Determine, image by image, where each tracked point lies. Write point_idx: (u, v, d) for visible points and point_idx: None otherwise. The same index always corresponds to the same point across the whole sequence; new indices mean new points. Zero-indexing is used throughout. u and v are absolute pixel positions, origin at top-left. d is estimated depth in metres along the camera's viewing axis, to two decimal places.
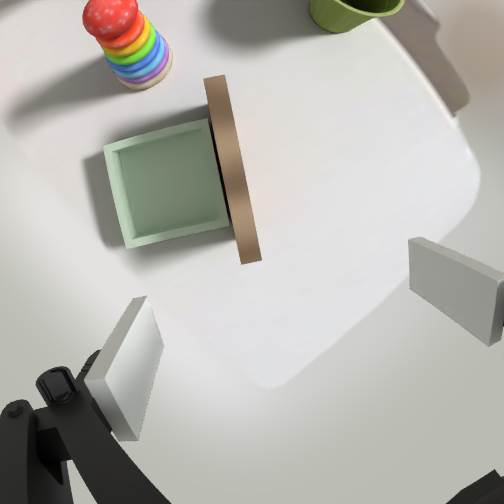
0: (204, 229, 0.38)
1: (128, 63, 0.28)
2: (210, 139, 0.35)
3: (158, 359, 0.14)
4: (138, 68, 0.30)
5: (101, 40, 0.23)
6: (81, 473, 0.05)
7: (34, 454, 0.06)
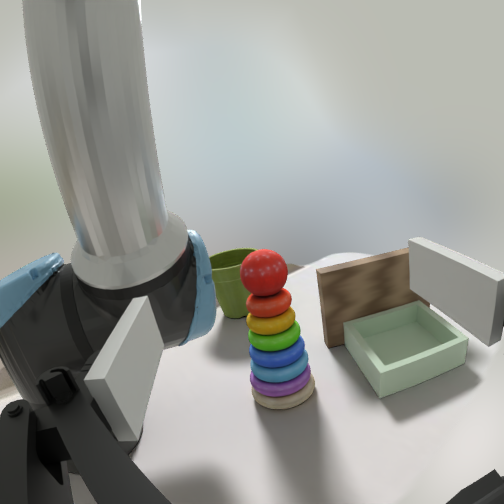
0: (427, 308, 0.42)
1: (299, 327, 0.36)
2: (360, 318, 0.44)
3: (158, 359, 0.14)
4: (302, 338, 0.37)
5: (282, 298, 0.34)
6: (81, 473, 0.05)
7: (34, 454, 0.06)
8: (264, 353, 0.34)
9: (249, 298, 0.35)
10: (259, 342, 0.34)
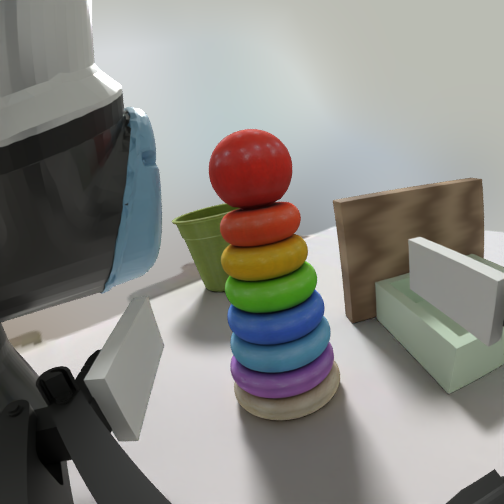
0: (487, 261, 0.27)
1: (315, 273, 0.21)
2: (398, 276, 0.29)
3: (158, 359, 0.14)
4: None
5: (284, 209, 0.18)
6: (81, 473, 0.05)
7: (34, 454, 0.06)
8: (252, 317, 0.19)
9: (225, 215, 0.20)
10: (243, 295, 0.19)
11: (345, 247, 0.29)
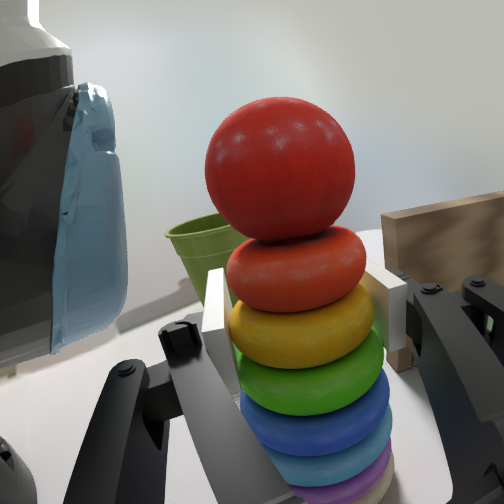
0: None
1: None
2: None
3: None
4: None
5: (345, 245, 0.10)
6: (188, 422, 0.06)
7: (139, 417, 0.07)
8: (283, 421, 0.10)
9: (236, 252, 0.11)
10: (269, 392, 0.10)
11: None
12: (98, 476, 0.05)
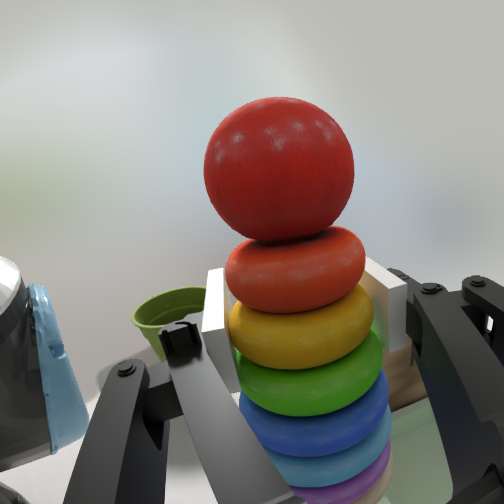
0: None
1: None
2: None
3: None
4: None
5: (344, 245, 0.10)
6: (188, 422, 0.06)
7: (139, 417, 0.07)
8: (282, 422, 0.10)
9: (235, 253, 0.11)
10: (268, 392, 0.10)
11: None
12: (98, 476, 0.05)
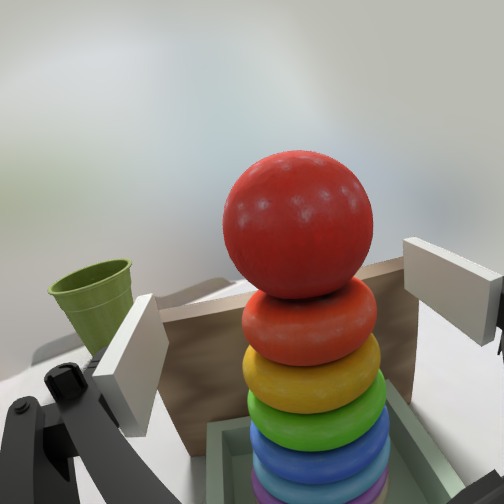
0: (403, 404, 0.17)
1: None
2: (244, 418, 0.20)
3: (163, 356, 0.14)
4: None
5: (360, 305, 0.10)
6: (88, 469, 0.05)
7: (41, 451, 0.06)
8: (293, 455, 0.11)
9: (252, 305, 0.11)
10: (281, 432, 0.10)
11: None
12: None
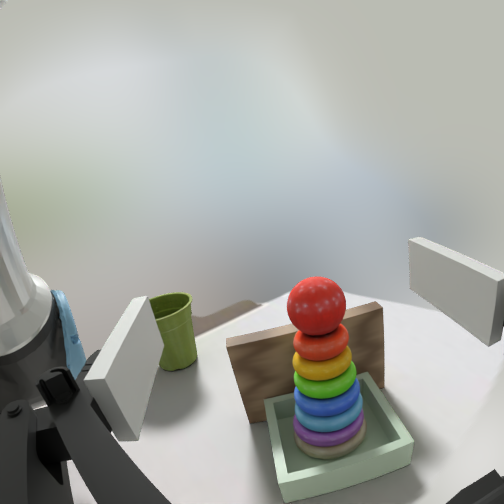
0: (374, 385, 0.33)
1: None
2: (285, 395, 0.35)
3: (158, 359, 0.14)
4: None
5: (340, 337, 0.26)
6: (81, 473, 0.05)
7: (34, 454, 0.06)
8: (315, 401, 0.27)
9: (298, 337, 0.27)
10: (310, 389, 0.26)
11: (235, 376, 0.35)
12: None
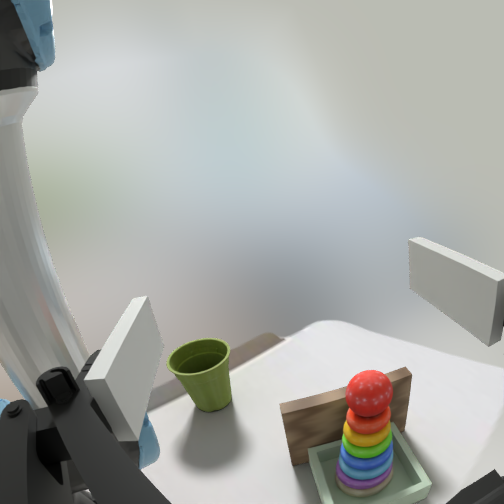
0: (400, 435, 0.36)
1: (390, 430, 0.31)
2: (326, 444, 0.38)
3: (158, 359, 0.14)
4: None
5: (386, 416, 0.29)
6: (81, 473, 0.05)
7: (35, 454, 0.06)
8: (360, 460, 0.29)
9: (352, 416, 0.30)
10: (358, 453, 0.29)
11: (286, 433, 0.38)
12: None
